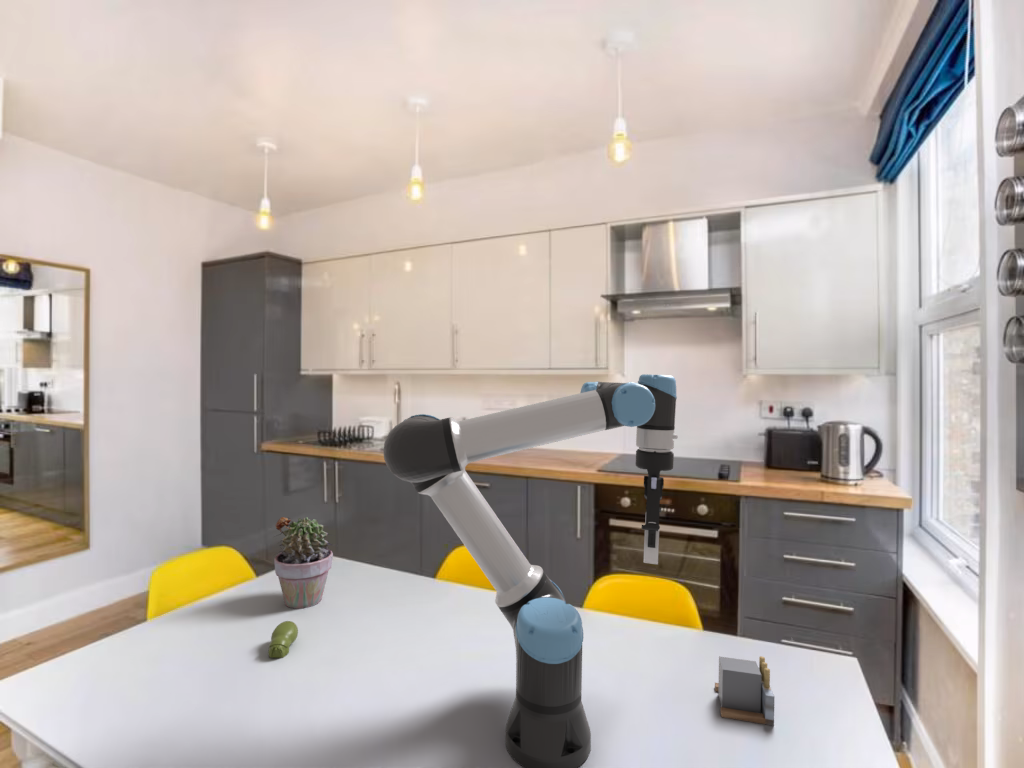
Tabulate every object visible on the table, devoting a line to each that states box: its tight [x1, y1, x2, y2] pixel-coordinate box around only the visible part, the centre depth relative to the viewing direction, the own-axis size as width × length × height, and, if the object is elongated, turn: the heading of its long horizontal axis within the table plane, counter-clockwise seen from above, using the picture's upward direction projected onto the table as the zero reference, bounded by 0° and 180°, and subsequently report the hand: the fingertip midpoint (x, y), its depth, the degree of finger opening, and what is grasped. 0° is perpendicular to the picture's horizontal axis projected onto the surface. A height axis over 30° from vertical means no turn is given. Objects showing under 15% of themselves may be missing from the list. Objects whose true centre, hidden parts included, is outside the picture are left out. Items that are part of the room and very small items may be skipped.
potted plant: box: [273, 516, 337, 610], centre depth 149 cm, size 18×20×25 cm
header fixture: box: [714, 655, 775, 726], centre depth 103 cm, size 10×9×9 cm
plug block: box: [717, 656, 762, 714], centre depth 103 cm, size 5×7×8 cm
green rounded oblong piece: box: [268, 620, 299, 659], centre depth 122 cm, size 6×5×10 cm
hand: (650, 552), depth 107 cm, fingers open, 13 cm apart
